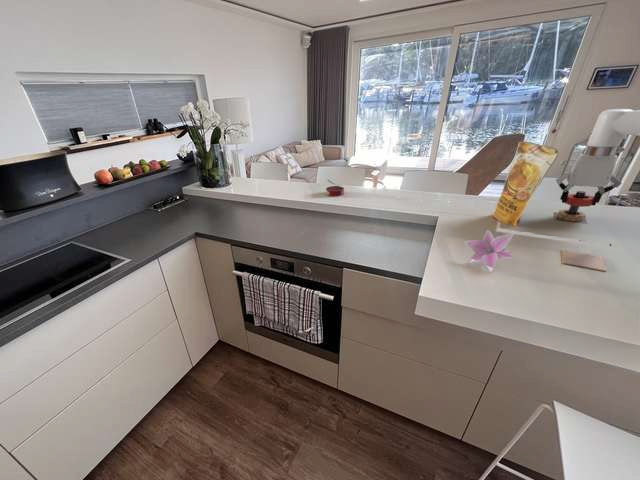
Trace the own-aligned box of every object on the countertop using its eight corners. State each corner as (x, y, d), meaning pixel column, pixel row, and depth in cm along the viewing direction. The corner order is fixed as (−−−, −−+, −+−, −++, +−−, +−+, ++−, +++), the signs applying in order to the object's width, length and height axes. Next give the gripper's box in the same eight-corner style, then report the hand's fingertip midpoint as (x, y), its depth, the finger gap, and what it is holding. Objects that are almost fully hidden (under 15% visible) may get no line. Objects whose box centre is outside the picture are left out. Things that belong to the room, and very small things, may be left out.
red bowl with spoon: (328, 199, 166) (329, 182, 166) (345, 198, 162) (346, 180, 162) (322, 196, 156) (323, 177, 156) (341, 194, 152) (341, 176, 151)
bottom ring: (582, 216, 107) (584, 210, 106) (583, 222, 102) (586, 217, 101) (556, 213, 111) (558, 208, 110) (557, 219, 106) (559, 214, 105)
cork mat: (601, 257, 85) (602, 256, 84) (605, 271, 79) (606, 270, 79) (560, 251, 90) (561, 250, 89) (562, 263, 84) (562, 262, 84)
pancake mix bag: (505, 212, 119) (529, 139, 105) (531, 231, 103) (563, 148, 89) (487, 212, 120) (508, 141, 106) (509, 231, 104) (538, 149, 90)
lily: (458, 255, 95) (458, 237, 88) (495, 240, 92) (499, 220, 85) (480, 283, 87) (482, 265, 80) (522, 267, 84) (528, 248, 77)
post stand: (583, 218, 108) (597, 189, 102) (586, 227, 102) (600, 196, 96) (552, 215, 113) (563, 187, 107) (552, 222, 107) (565, 194, 101)
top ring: (590, 201, 104) (593, 194, 103) (592, 207, 99) (595, 200, 98) (563, 199, 108) (566, 192, 107) (564, 205, 103) (567, 198, 102)
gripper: (636, 149, 92) (610, 202, 101) (564, 149, 102) (546, 197, 111) (642, 153, 88) (614, 209, 96) (565, 153, 97) (546, 203, 106)
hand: (577, 202), depth 104 cm, fingers closed on top ring, 7 cm apart
